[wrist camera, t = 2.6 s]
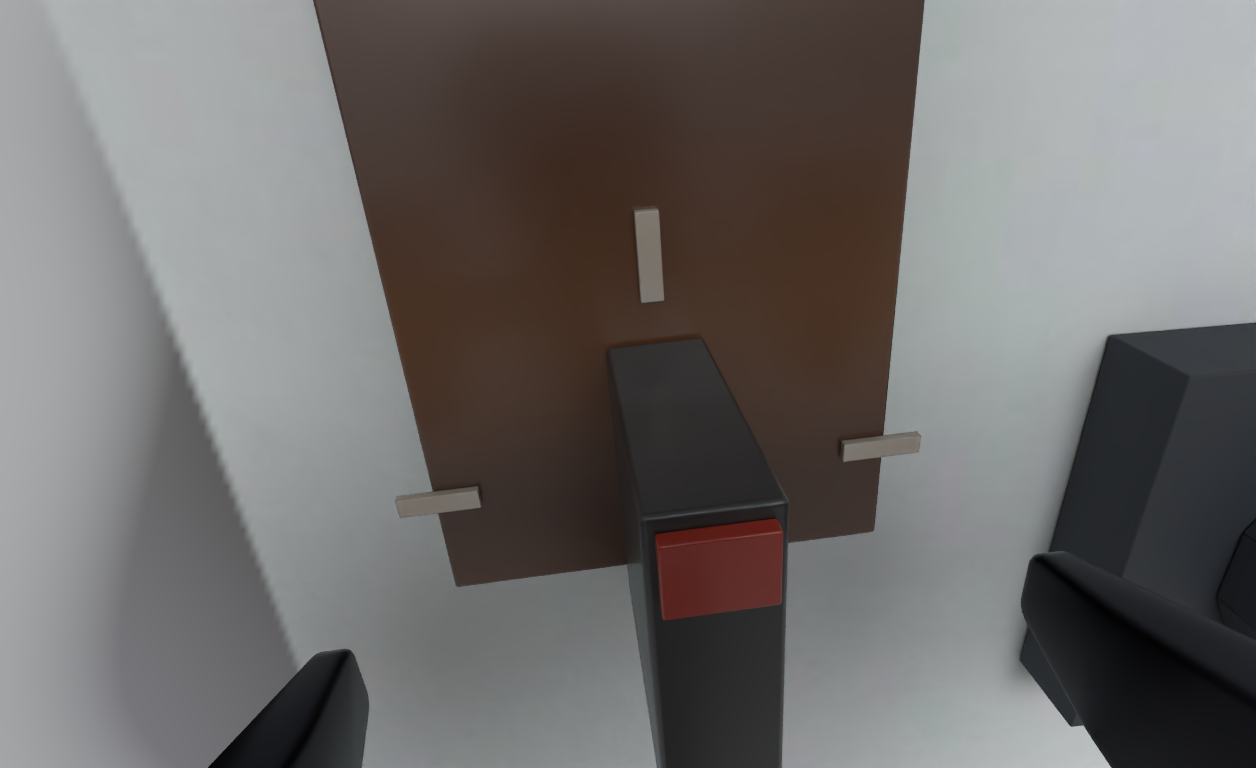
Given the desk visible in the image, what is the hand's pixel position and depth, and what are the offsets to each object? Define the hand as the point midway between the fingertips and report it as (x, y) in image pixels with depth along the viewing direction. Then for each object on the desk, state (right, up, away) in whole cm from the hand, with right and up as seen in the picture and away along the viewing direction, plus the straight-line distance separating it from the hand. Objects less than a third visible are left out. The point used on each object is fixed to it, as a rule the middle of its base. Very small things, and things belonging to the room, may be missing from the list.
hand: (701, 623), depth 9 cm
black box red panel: (0, +2, +3) cm, 3 cm away
